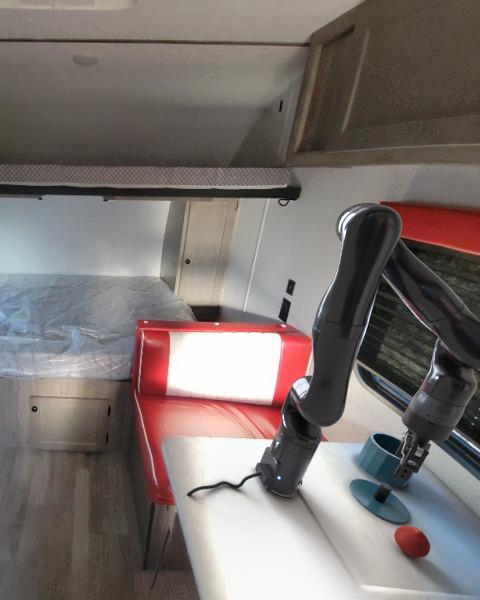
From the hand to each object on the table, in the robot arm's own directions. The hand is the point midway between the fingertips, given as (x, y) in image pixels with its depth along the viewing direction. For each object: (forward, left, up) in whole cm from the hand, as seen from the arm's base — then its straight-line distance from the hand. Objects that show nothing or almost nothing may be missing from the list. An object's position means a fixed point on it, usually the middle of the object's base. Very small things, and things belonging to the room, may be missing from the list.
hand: (400, 467), depth 78 cm
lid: (+7, +6, -18) cm, 20 cm away
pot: (+17, +17, -18) cm, 30 cm away
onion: (+3, -7, -18) cm, 20 cm away
